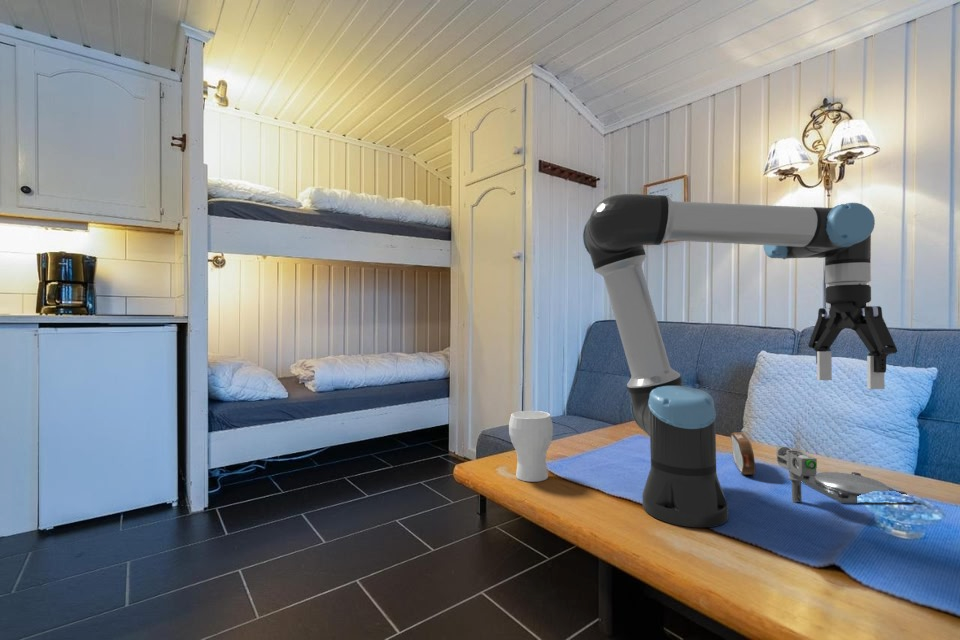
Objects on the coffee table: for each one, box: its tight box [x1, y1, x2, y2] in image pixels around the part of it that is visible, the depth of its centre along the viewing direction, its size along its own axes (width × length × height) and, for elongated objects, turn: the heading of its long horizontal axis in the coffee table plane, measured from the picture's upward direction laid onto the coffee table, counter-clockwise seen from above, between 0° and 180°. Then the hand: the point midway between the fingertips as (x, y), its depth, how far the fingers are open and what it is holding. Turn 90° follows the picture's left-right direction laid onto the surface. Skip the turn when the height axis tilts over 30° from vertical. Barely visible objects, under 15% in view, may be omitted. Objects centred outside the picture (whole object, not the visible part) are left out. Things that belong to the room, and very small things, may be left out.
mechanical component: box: [776, 445, 818, 504], centre depth 90 cm, size 3×10×10 cm, turn 174°
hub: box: [801, 471, 908, 504], centre depth 95 cm, size 14×14×2 cm
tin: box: [730, 431, 756, 476], centre depth 109 cm, size 15×3×8 cm, turn 159°
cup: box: [508, 410, 554, 483], centre depth 108 cm, size 11×11×15 cm
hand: (848, 384), depth 95 cm, fingers open, 13 cm apart
